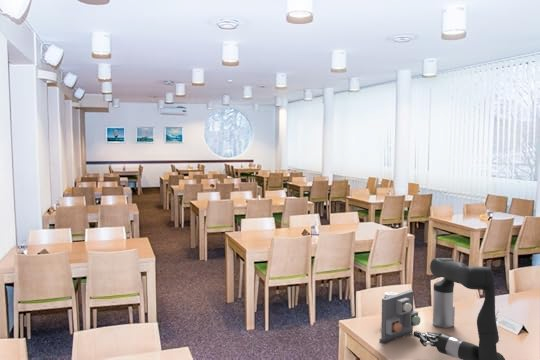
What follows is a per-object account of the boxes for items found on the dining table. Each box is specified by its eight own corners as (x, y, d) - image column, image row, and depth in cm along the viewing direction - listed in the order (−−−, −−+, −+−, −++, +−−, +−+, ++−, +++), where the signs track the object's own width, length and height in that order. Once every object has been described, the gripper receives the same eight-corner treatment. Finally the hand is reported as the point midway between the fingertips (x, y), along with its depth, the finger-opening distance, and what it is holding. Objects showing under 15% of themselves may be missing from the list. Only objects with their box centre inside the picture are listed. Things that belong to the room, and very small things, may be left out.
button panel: (418, 334, 225) (419, 292, 224) (390, 346, 212) (391, 301, 211) (407, 330, 230) (408, 289, 229) (379, 342, 217) (380, 298, 216)
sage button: (420, 324, 223) (420, 315, 222) (415, 326, 220) (415, 317, 220) (415, 322, 224) (415, 314, 224) (410, 324, 222) (410, 316, 222)
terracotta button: (402, 331, 214) (402, 322, 213) (396, 333, 211) (396, 324, 211) (397, 329, 216) (397, 320, 215) (391, 331, 213) (391, 323, 213)
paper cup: (399, 324, 239) (399, 296, 238) (383, 322, 241) (384, 295, 240) (398, 318, 247) (399, 291, 246) (383, 317, 248) (383, 290, 247)
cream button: (411, 311, 218) (411, 302, 217) (406, 313, 215) (406, 304, 215) (407, 310, 220) (407, 301, 219) (401, 311, 217) (401, 303, 217)
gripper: (460, 333, 197) (423, 321, 210) (443, 341, 189) (405, 328, 202) (460, 351, 197) (423, 338, 211) (442, 360, 189) (405, 345, 203)
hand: (414, 333), depth 206 cm, fingers closed
